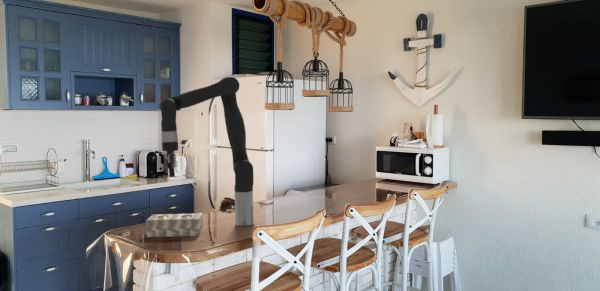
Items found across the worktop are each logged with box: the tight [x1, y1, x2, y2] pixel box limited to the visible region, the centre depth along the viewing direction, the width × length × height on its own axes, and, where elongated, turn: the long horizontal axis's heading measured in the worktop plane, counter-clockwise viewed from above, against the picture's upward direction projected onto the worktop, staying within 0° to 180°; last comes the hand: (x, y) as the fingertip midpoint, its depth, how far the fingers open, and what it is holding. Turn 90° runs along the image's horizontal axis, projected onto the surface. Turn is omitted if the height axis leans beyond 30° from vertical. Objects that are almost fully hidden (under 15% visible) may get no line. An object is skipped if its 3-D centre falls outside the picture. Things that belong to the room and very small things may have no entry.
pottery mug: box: [219, 197, 235, 212], centre depth 281 cm, size 12×10×8 cm
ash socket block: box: [145, 212, 204, 238], centre depth 228 cm, size 24×12×8 cm, turn 93°
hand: (172, 176), depth 229 cm, fingers closed
